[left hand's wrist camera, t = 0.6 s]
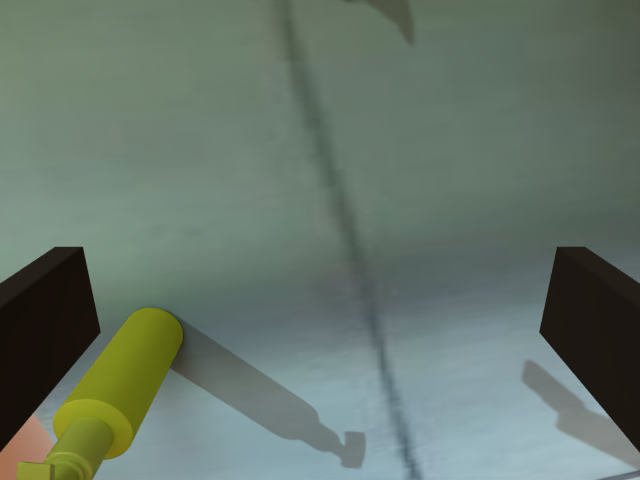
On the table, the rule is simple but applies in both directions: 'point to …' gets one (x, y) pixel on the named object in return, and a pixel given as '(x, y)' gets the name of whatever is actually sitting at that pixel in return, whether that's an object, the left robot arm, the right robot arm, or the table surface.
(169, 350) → the soap dispenser
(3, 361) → the left robot arm
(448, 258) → the table surface
